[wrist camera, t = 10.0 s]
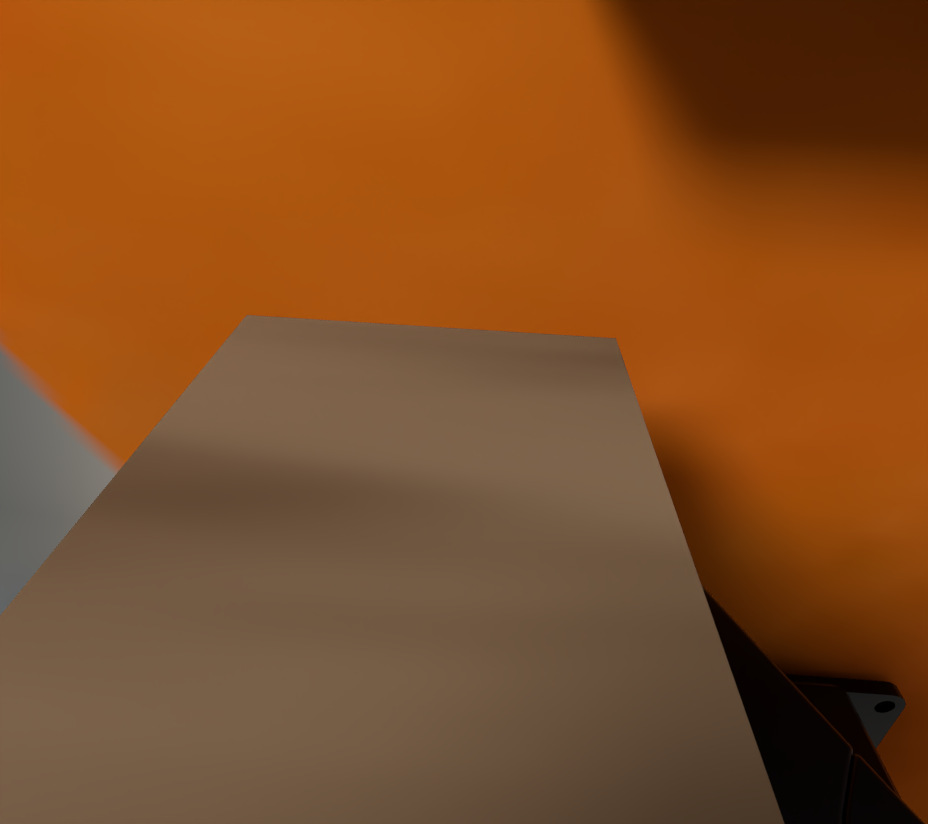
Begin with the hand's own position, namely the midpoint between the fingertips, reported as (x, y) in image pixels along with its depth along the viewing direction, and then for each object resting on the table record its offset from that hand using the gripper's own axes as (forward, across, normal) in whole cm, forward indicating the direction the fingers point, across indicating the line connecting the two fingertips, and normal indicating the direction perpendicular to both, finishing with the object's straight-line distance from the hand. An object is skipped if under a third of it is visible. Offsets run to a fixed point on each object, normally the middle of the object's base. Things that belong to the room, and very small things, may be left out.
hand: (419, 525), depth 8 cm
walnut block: (+1, 0, 0) cm, 1 cm away
